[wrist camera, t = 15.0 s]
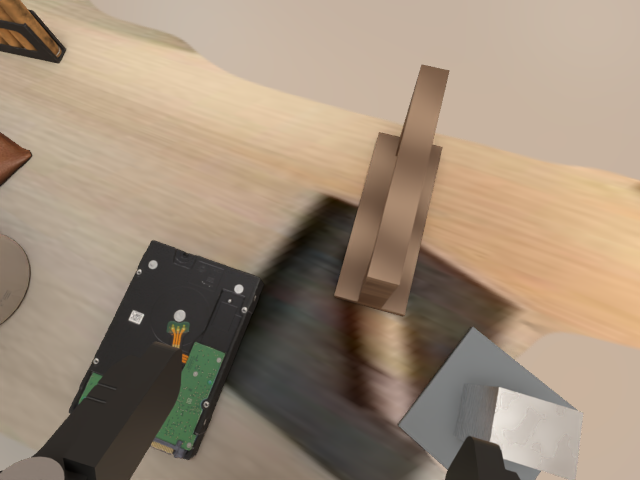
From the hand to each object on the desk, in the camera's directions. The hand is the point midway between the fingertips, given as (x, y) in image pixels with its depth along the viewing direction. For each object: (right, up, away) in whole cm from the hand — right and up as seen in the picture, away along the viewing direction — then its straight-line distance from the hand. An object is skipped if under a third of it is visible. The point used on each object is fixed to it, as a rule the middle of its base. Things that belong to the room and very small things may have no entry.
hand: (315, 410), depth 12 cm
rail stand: (+6, +6, +27) cm, 29 cm away
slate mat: (+13, -9, +22) cm, 28 cm away
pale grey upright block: (+14, -9, +22) cm, 27 cm away
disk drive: (-12, -4, +25) cm, 28 cm away
